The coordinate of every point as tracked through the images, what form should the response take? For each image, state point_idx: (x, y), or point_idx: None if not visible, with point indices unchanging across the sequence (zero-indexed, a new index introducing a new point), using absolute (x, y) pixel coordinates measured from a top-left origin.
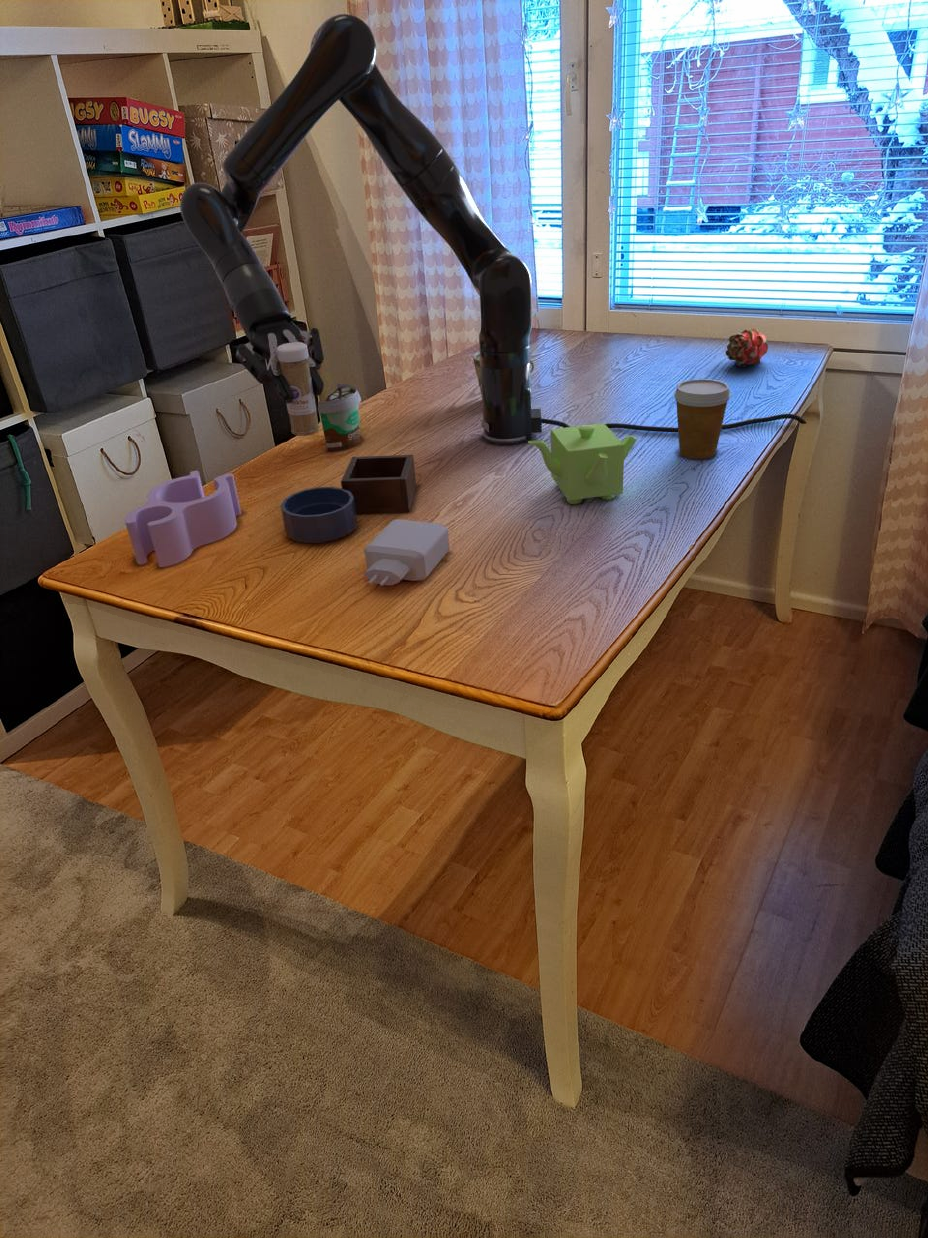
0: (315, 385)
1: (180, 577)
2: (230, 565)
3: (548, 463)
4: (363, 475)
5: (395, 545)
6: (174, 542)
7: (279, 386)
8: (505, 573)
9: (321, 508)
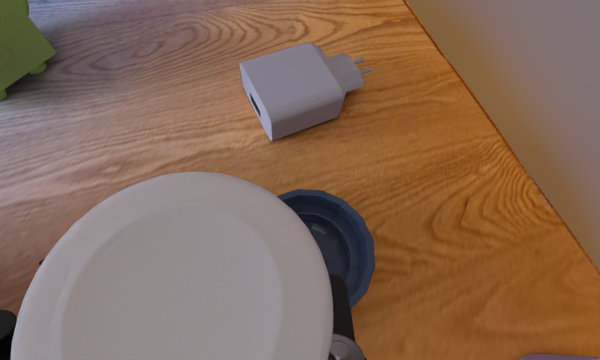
0: None
1: (540, 300)
2: (465, 274)
3: (6, 47)
4: None
5: (319, 66)
6: (561, 355)
7: (345, 311)
8: (240, 29)
9: None
